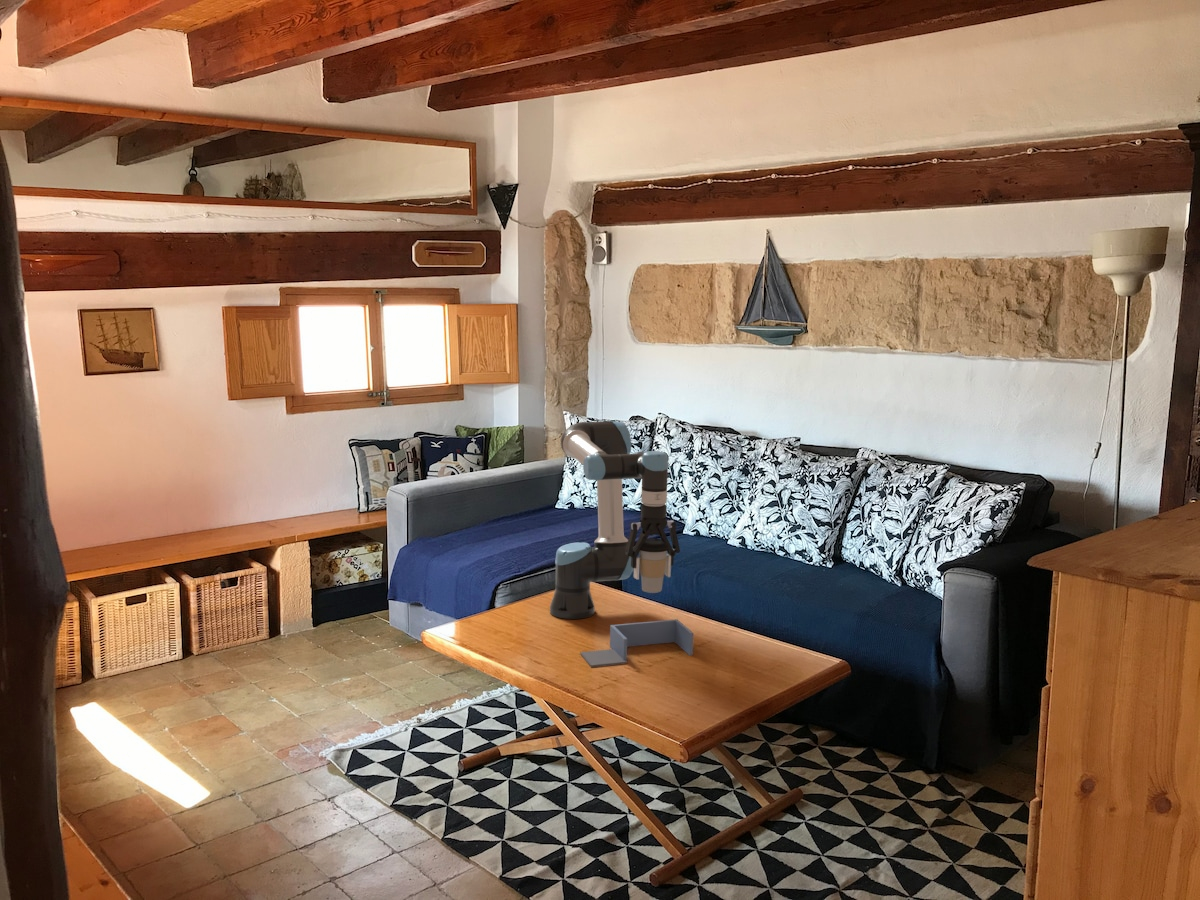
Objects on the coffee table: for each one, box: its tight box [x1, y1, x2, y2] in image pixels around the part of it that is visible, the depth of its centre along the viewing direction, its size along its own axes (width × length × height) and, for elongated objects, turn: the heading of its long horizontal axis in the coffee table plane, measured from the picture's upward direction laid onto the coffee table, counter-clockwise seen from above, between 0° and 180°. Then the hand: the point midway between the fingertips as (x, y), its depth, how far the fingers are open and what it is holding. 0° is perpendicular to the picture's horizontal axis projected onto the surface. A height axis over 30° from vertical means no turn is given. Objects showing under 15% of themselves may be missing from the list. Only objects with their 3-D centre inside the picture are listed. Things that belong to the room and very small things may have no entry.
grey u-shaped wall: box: [609, 618, 694, 662], centre depth 301 cm, size 13×22×7 cm, turn 108°
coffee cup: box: [638, 537, 669, 594], centre depth 297 cm, size 9×9×15 cm
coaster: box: [579, 648, 628, 668], centre depth 295 cm, size 11×11×1 cm
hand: (651, 577), depth 298 cm, fingers closed on coffee cup, 9 cm apart
